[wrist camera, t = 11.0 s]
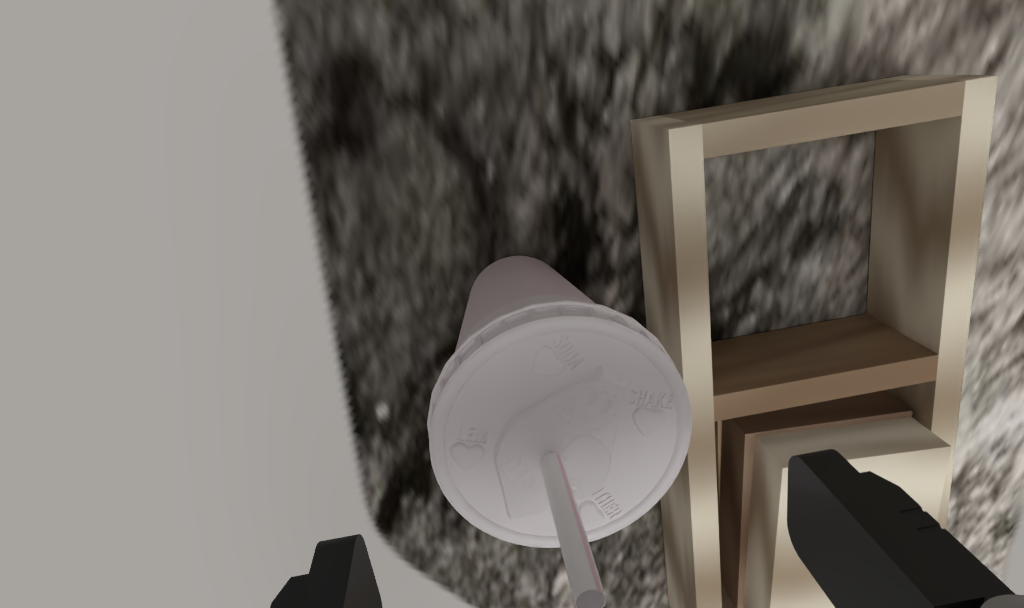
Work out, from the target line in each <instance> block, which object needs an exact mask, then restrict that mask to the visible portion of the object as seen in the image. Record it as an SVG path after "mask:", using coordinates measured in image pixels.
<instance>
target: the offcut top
mask: <svg viewBox="0 0 1024 608" xmlns="http://www.w3.org/2000/svg"><path fill="white" fill-rule="evenodd" d="M951 447H952V446H950V445H949V444H948V443H946V442H945V441H944V440H942V439H941V438H939V437H938V436H937V435H935V434H934V433H933V432H931V431H930V430H929V429H927V428H926V427H924V426H923V425H922V424H920V423H919V422H918V421H916V420H915V419H914V418H912V417H907V418H899V419H891V420H882V421H874V422H866V423H858V424H850V425H842V426H834V427H826V428H818V429H810V430H802V431H794V432H786V433H778V434H769V435H761V436H755V446H754V460H753V474H752V488H751V502H750V516H749V530H748V544H747V558H746V572H745V586H744V600H743V606H744V608H835V607H834V605H833V604H832V603H831V601H830V600H829V598H828V597H827V596H826V594H825V593H824V591H823V590H822V589H821V587H820V586H819V584H818V583H817V582H816V580H815V579H814V577H813V576H812V575H811V573H810V572H809V570H808V569H807V568H806V566H805V565H804V564H803V562H802V561H801V559H800V558H799V556H798V555H797V553H796V551H795V549H794V547H793V545H792V542H791V539H790V536H789V532H788V527H787V490H788V463H789V460H790V458H791V457H792V456H795V455H800V454H806V453H811V452H817V451H822V450H827V449H834V450H836V451H838V452H839V453H840V454H841V455H842V456H843V457H844V458H845V459H846V460H847V461H848V462H849V463H850V464H851V465H852V466H853V467H854V468H855V469H856V470H857V471H858V472H859V473H862V472H867V471H871V472H873V473H875V474H877V475H879V476H880V477H882V478H884V479H886V480H888V481H890V482H892V483H894V484H896V485H898V486H900V487H901V488H902V489H903V490H904V491H905V492H906V493H907V494H908V495H909V496H910V497H911V498H913V499H914V500H915V501H916V502H917V503H918V504H919V505H920V506H921V507H922V510H923V511H926V512H928V513H929V514H930V515H931V516H932V517H933V518H934V519H935V520H936V521H937V518H938V513H939V508H940V503H941V498H942V493H943V488H944V483H945V478H946V473H947V468H948V462H949V457H950V452H951Z"/></svg>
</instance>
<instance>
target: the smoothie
mask: <svg viewBox="0 0 1024 608" xmlns="http://www.w3.org/2000/svg"><path fill="white" fill-rule="evenodd" d="M427 426H428V433H429V448H430V457H431V463H432V467H433V471H434V474H435V476H436V479H437V482H438V484H439V486H440V488H441V490H442V492H443V493H444V495H445V496H446V498H447V499H448V501H449V502H450V503H451V505H452V506H453V507H454V508H455V509H456V510H457V511H458V512H459V513H460V514H461V515H462V516H463V517H464V518H465V519H466V520H467V521H469V522H470V523H471V524H473V525H474V526H476V527H477V528H479V529H480V530H482V531H484V532H486V533H488V534H490V535H492V536H494V537H496V538H499V539H501V540H504V541H507V542H511V543H514V544H519V545H524V546H531V547H542V548H555V547H561V551H562V555H563V559H564V563H565V567H566V571H567V575H568V579H569V583H570V587H571V591H572V595H573V599H574V603H575V607H576V608H603V607H604V605H605V603H606V596H605V593H604V590H603V586H602V583H601V580H600V577H599V574H598V570H597V567H596V564H595V561H594V558H593V555H592V551H591V548H590V545H589V542H591V541H595V540H598V539H601V538H603V537H606V536H609V535H611V534H613V533H615V532H617V531H619V530H621V529H623V528H625V527H626V526H628V525H630V524H631V523H633V522H634V521H636V520H637V519H639V518H640V517H641V516H642V515H644V514H645V513H646V512H647V511H649V510H650V509H651V508H652V507H653V506H654V505H655V504H656V503H657V502H658V501H659V500H660V499H661V498H662V496H663V495H664V494H665V493H666V492H667V490H668V489H669V488H670V486H671V485H672V483H673V482H674V480H675V478H676V477H677V475H678V473H679V471H680V469H681V467H682V465H683V463H684V460H685V457H686V455H687V451H688V448H689V444H690V438H691V431H692V413H691V405H690V400H689V396H688V392H687V389H686V386H685V384H684V382H683V379H682V377H681V375H680V374H679V372H678V370H677V368H676V367H675V364H674V362H673V361H672V359H671V358H670V356H669V355H668V353H667V352H666V350H665V349H664V347H663V346H662V344H661V343H660V341H659V340H658V338H657V337H655V336H654V335H653V334H652V333H650V332H649V331H648V330H647V329H646V328H644V327H643V326H642V325H641V324H640V323H638V322H637V321H636V320H635V319H633V318H632V317H629V316H627V315H625V314H622V313H620V312H618V311H615V310H613V309H611V308H608V307H606V306H604V305H600V304H595V303H594V302H593V301H592V300H591V299H589V298H588V297H587V296H586V295H584V294H583V293H582V292H581V291H580V290H578V289H577V288H576V287H575V286H573V285H572V284H571V283H570V282H569V281H567V280H566V279H565V278H564V277H562V276H561V275H560V274H559V273H558V272H556V271H555V270H554V269H553V268H551V267H550V266H549V265H548V264H546V263H545V262H543V261H541V260H539V259H536V258H533V257H529V256H510V257H506V258H502V259H500V260H497V261H495V262H494V263H492V264H490V265H489V266H488V267H486V268H485V269H484V270H483V271H482V272H481V273H480V274H479V276H478V277H477V278H476V280H475V282H474V284H473V286H472V288H471V291H470V295H469V299H468V303H467V307H466V311H465V315H464V319H463V323H462V327H461V331H460V335H459V339H458V343H457V347H456V351H455V353H454V354H453V355H452V356H451V357H450V359H449V360H448V361H447V362H446V364H445V366H444V368H443V370H442V372H441V374H440V376H439V378H438V381H437V383H436V385H435V387H434V389H433V391H432V395H431V401H430V407H429V414H428V420H427Z"/></svg>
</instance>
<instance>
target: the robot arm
mask: <svg viewBox="0 0 1024 608" xmlns="http://www.w3.org/2000/svg"><path fill="white" fill-rule="evenodd" d="M787 527H788V532H789V536H790V539H791V542H792V545H793V547H794V549H795V551H796V553H797V555H798V556H799V558H800V559H801V561H802V562H803V564H804V565H805V566H806V568H807V569H808V570H809V572H810V573H811V575H812V576H813V577H814V579H815V580H816V582H817V583H818V584H819V586H820V587H821V589H822V590H823V591H824V593H825V594H826V596H827V597H828V598H829V600H830V601H831V603H832V604H833V605H834V607H835V608H1024V595H1016V594H1015V593H1013V592H1012V591H1011V590H1010V589H1009V588H1008V587H1007V586H1006V585H1005V584H1004V583H1003V582H1002V581H1001V580H999V579H998V578H997V577H996V576H995V575H994V574H993V573H992V572H991V571H990V570H989V569H988V568H987V567H986V566H984V565H983V564H982V563H981V562H980V561H979V560H978V559H977V558H976V557H975V556H974V555H973V554H972V553H970V552H969V551H968V550H967V549H966V548H965V547H964V546H963V545H962V544H961V543H960V542H959V541H958V540H957V539H955V538H954V537H953V536H952V535H951V534H950V533H949V532H948V531H947V530H946V529H942V528H941V527H940V524H939V523H938V522H937V521H936V520H935V519H934V518H933V517H932V516H931V515H930V514H929V513H928V512H926V511H923V510H922V507H921V506H920V505H919V504H918V503H917V502H916V501H915V500H914V499H913V498H911V497H910V496H909V495H908V494H907V493H906V492H905V491H904V490H903V489H902V488H901V487H900V486H898V485H896V484H894V483H892V482H890V481H888V480H886V479H884V478H882V477H880V476H879V475H877V474H875V473H873V472H871V471H867V472H862V473H859V472H858V471H857V470H856V469H855V468H854V467H853V466H852V465H851V464H850V463H849V462H848V461H847V460H846V459H845V458H844V457H843V456H842V455H841V454H840V453H839V452H838V451H836V450H834V449H827V450H822V451H817V452H811V453H806V454H800V455H795V456H792V457H791V458H790V460H789V463H788V490H787ZM270 608H382V602H381V597H380V593H379V590H378V587H377V583H376V580H375V576H374V573H373V569H372V566H371V562H370V559H369V555H368V552H367V548H366V545H365V542H364V539H363V537H362V536H361V535H360V534H358V535H353V536H347V537H342V538H337V539H331V540H326V541H320V542H319V543H318V544H317V546H316V549H315V553H314V557H313V560H312V564H311V568H310V572H309V574H306V575H300V576H295V577H291V578H290V579H289V580H288V582H287V583H286V585H285V586H284V587H283V589H282V590H281V591H280V592H279V594H278V595H277V596H276V598H275V599H274V600H273V602H272V604H271V607H270Z"/></svg>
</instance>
